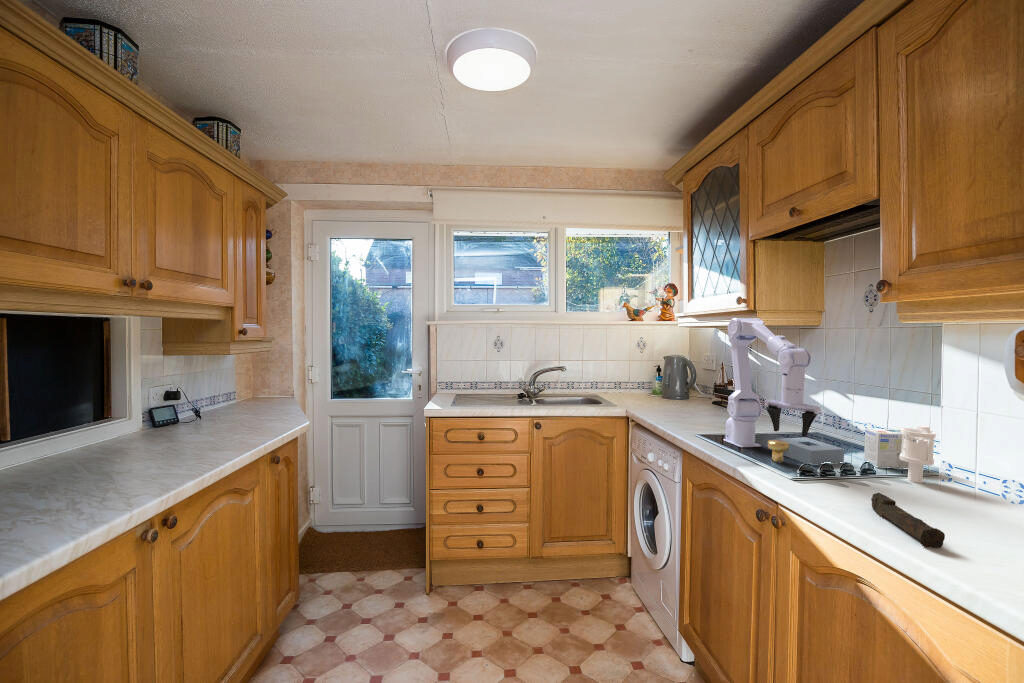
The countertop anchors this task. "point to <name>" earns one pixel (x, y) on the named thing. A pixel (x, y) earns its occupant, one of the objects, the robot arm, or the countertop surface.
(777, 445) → the brass door knob
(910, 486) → the countertop surface
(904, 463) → the light bulb box
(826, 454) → the block
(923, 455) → the strainer
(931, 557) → the countertop surface
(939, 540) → the brown wooden log
